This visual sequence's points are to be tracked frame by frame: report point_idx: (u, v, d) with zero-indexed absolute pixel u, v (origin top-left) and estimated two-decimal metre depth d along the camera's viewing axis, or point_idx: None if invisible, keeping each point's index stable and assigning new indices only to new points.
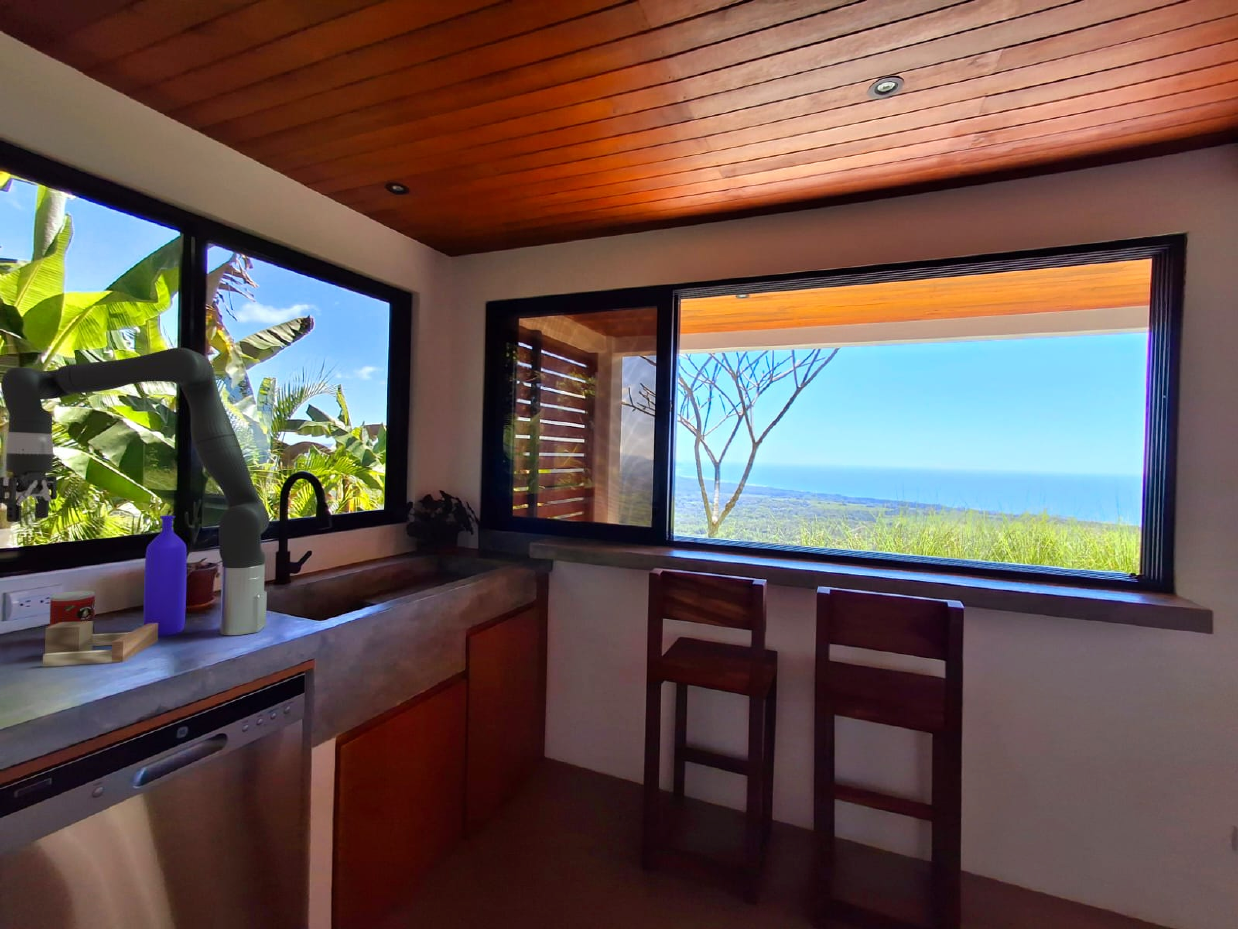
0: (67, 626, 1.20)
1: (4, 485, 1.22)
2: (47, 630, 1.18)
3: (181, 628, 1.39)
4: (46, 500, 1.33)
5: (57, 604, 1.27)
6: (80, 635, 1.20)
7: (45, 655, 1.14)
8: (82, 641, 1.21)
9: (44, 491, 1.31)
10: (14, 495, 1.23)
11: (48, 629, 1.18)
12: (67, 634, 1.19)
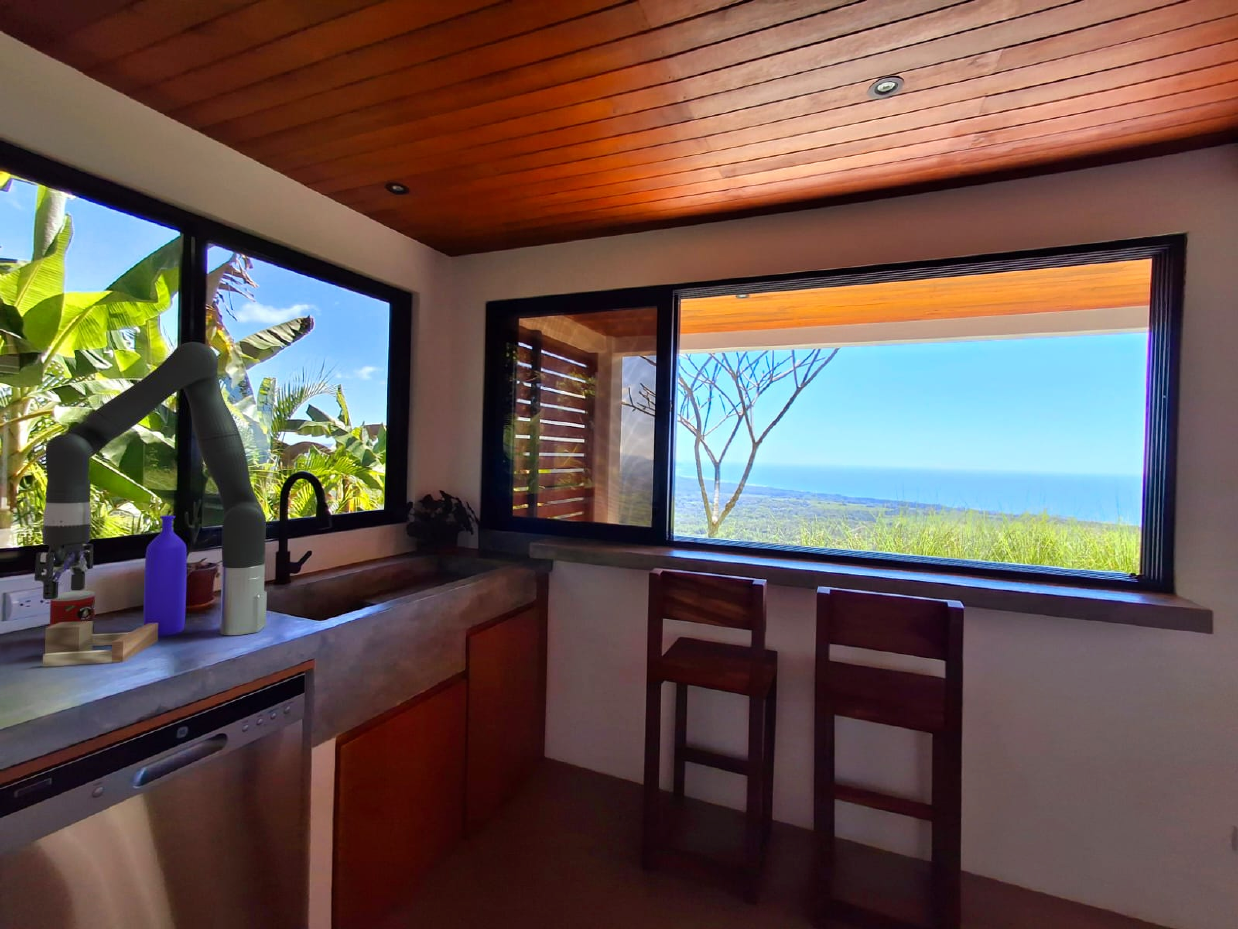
0: (67, 626, 1.20)
1: (41, 561, 1.14)
2: (47, 630, 1.18)
3: (181, 628, 1.39)
4: (82, 571, 1.25)
5: (57, 604, 1.27)
6: (80, 635, 1.20)
7: (45, 655, 1.14)
8: (82, 641, 1.21)
9: (81, 562, 1.23)
10: (51, 572, 1.15)
11: (48, 629, 1.18)
12: (67, 634, 1.19)
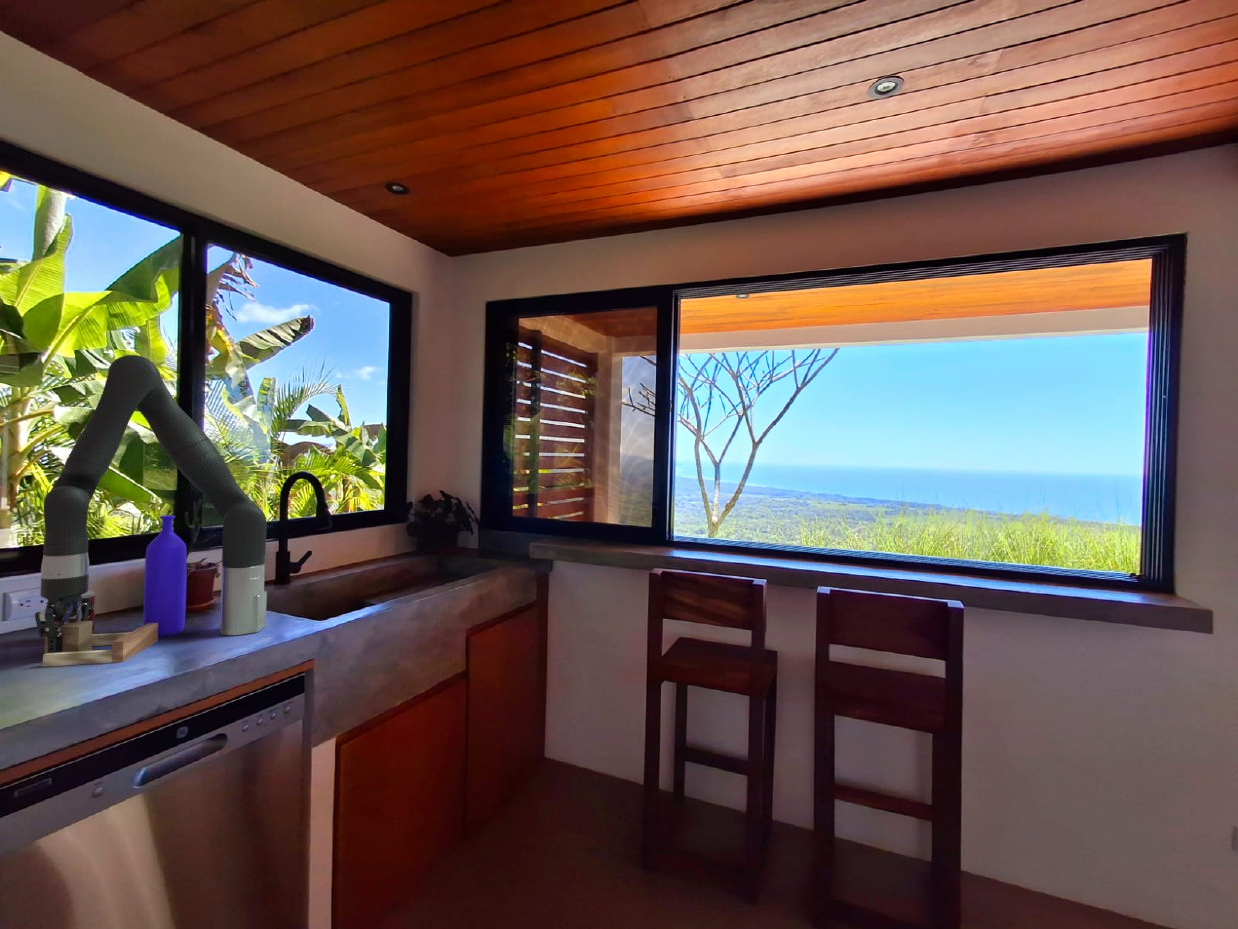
0: (67, 626, 1.20)
1: (41, 621, 1.15)
2: None
3: (181, 628, 1.39)
4: None
5: None
6: (80, 635, 1.20)
7: (45, 655, 1.14)
8: (81, 641, 1.21)
9: (77, 615, 1.22)
10: (54, 628, 1.16)
11: None
12: (67, 634, 1.19)
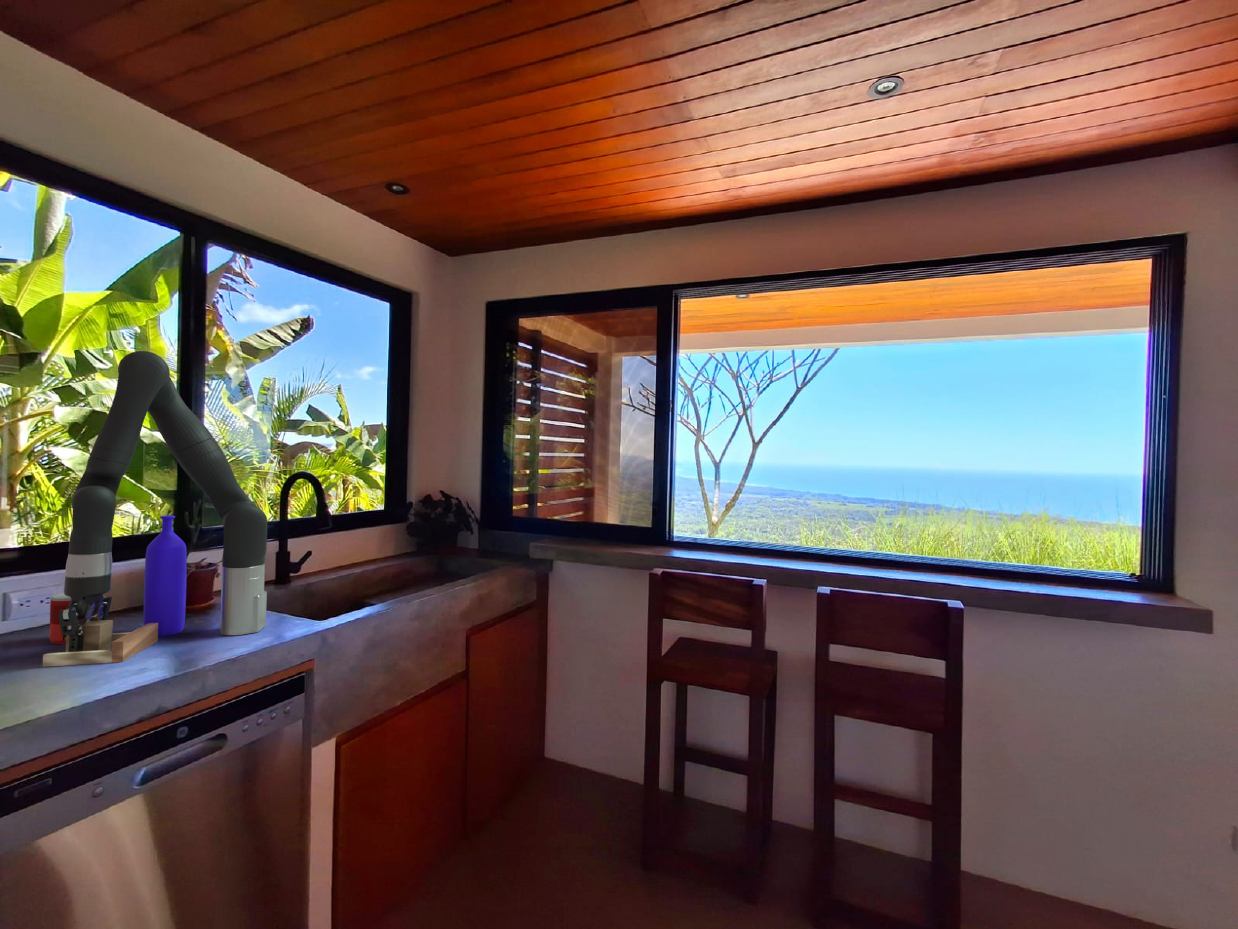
0: (88, 624, 1.20)
1: (64, 619, 1.16)
2: None
3: (181, 628, 1.39)
4: None
5: (57, 604, 1.27)
6: (101, 634, 1.21)
7: (45, 655, 1.14)
8: (102, 640, 1.21)
9: (98, 613, 1.23)
10: (76, 626, 1.17)
11: None
12: (88, 632, 1.20)
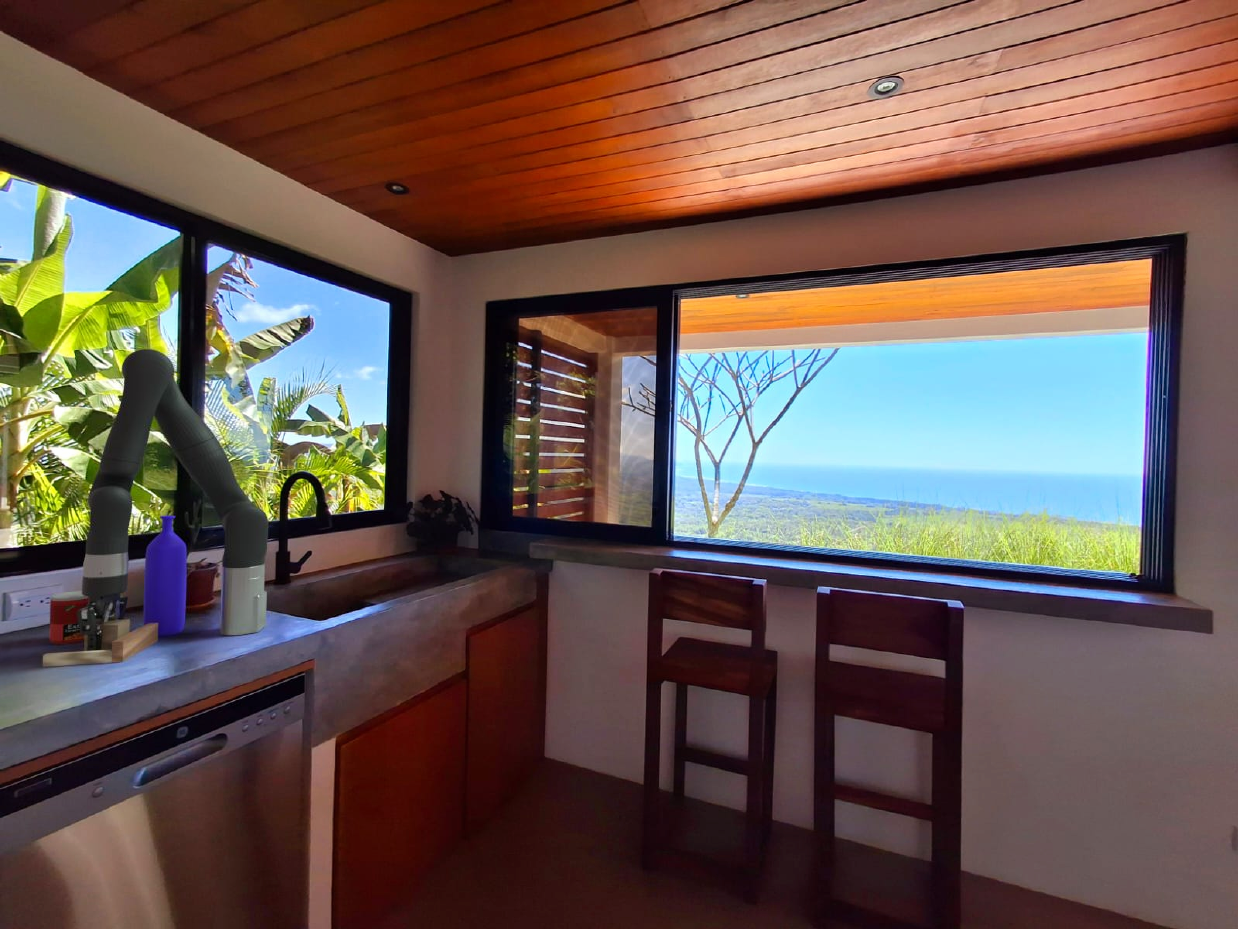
0: (106, 624, 1.21)
1: (83, 619, 1.16)
2: None
3: (181, 628, 1.39)
4: None
5: (57, 604, 1.27)
6: (119, 633, 1.22)
7: (45, 655, 1.14)
8: None
9: (115, 613, 1.24)
10: (95, 626, 1.18)
11: None
12: (106, 632, 1.21)
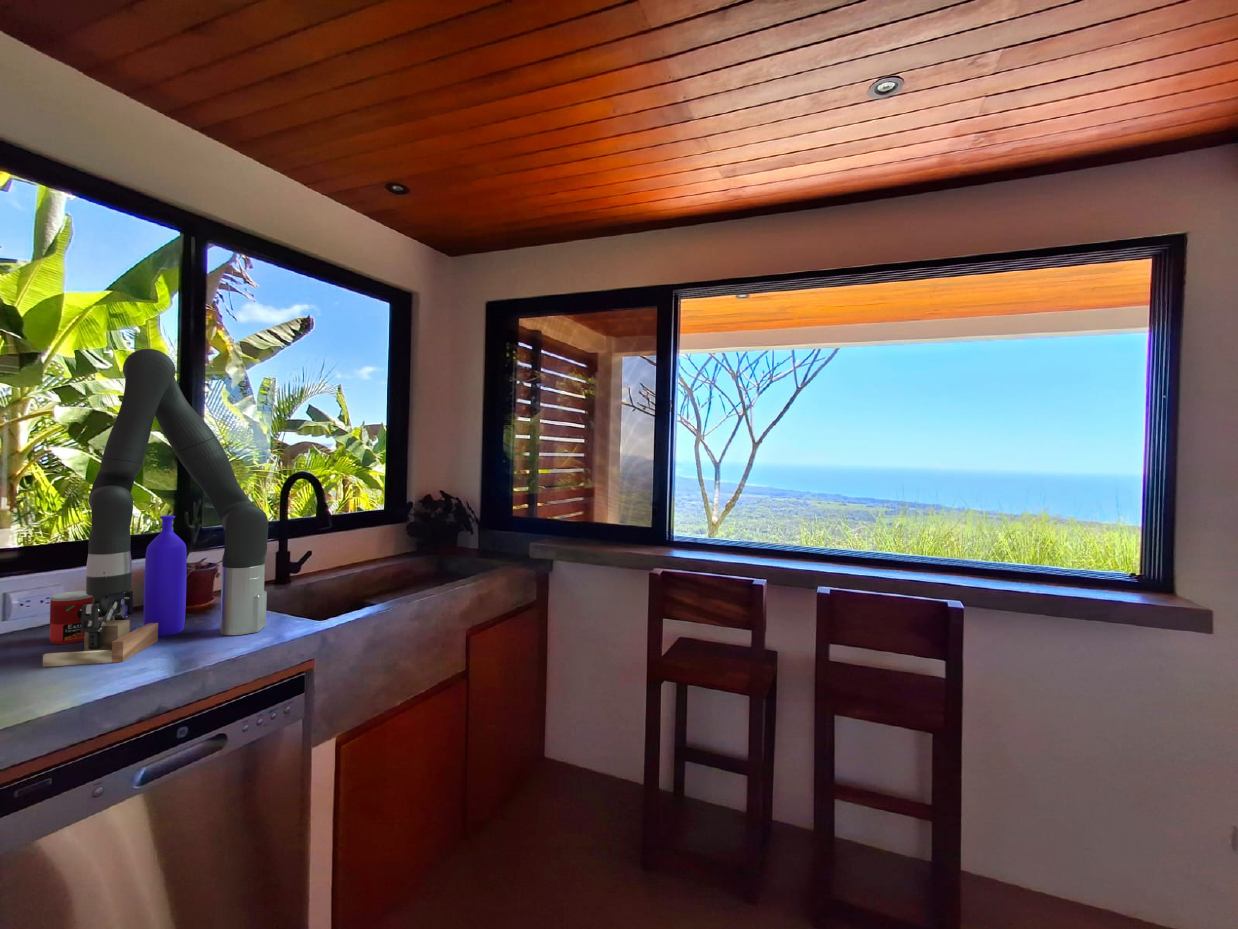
0: (106, 625, 1.21)
1: (87, 613, 1.16)
2: None
3: (181, 628, 1.39)
4: (124, 618, 1.27)
5: (57, 604, 1.27)
6: (119, 634, 1.22)
7: (45, 655, 1.14)
8: None
9: (122, 610, 1.26)
10: (97, 623, 1.17)
11: None
12: (106, 633, 1.21)
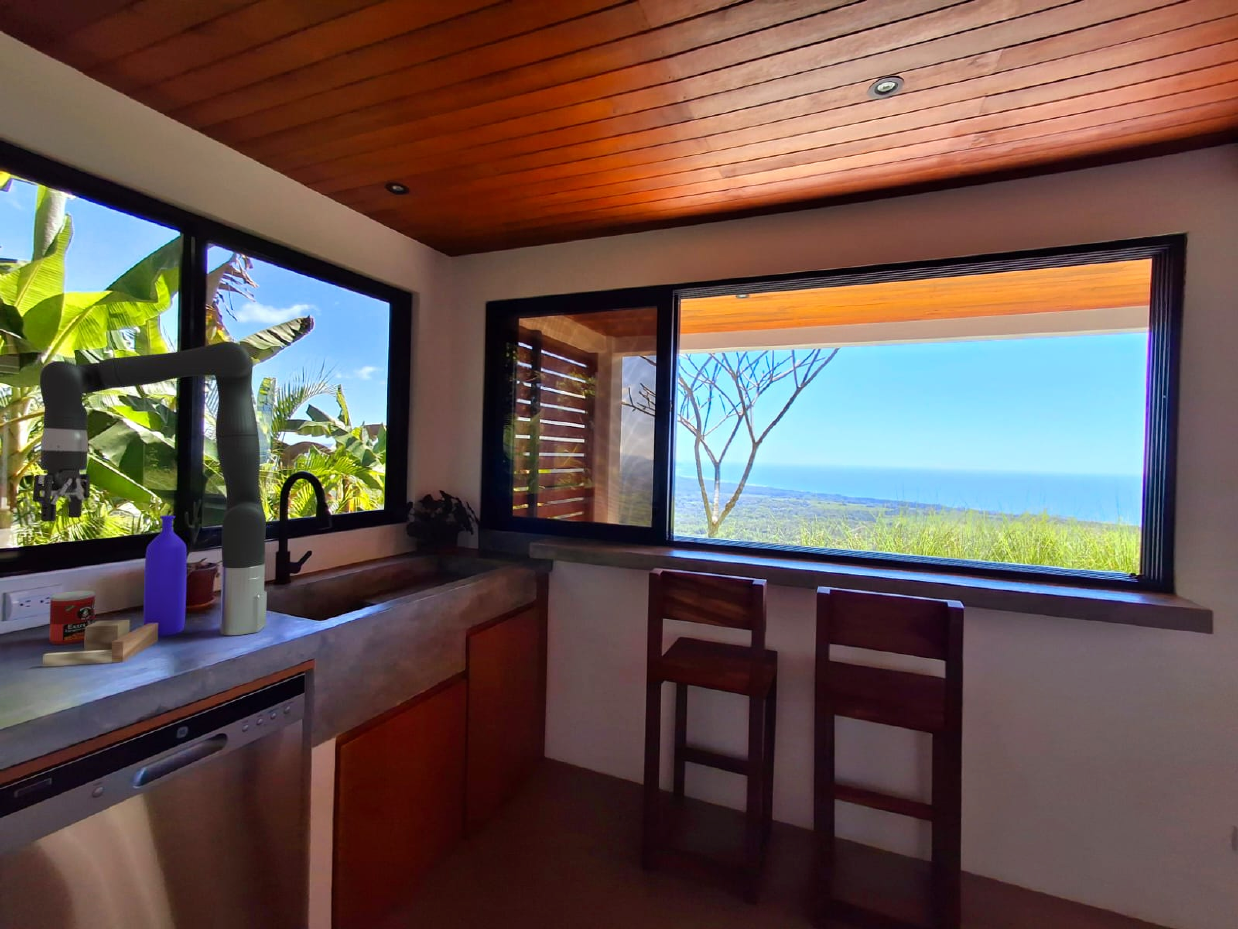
0: (106, 625, 1.21)
1: (39, 483, 1.17)
2: (86, 629, 1.20)
3: (181, 628, 1.39)
4: (79, 499, 1.28)
5: (57, 604, 1.27)
6: (119, 634, 1.22)
7: (45, 655, 1.14)
8: None
9: (78, 490, 1.26)
10: (49, 494, 1.18)
11: (87, 628, 1.20)
12: (106, 633, 1.21)
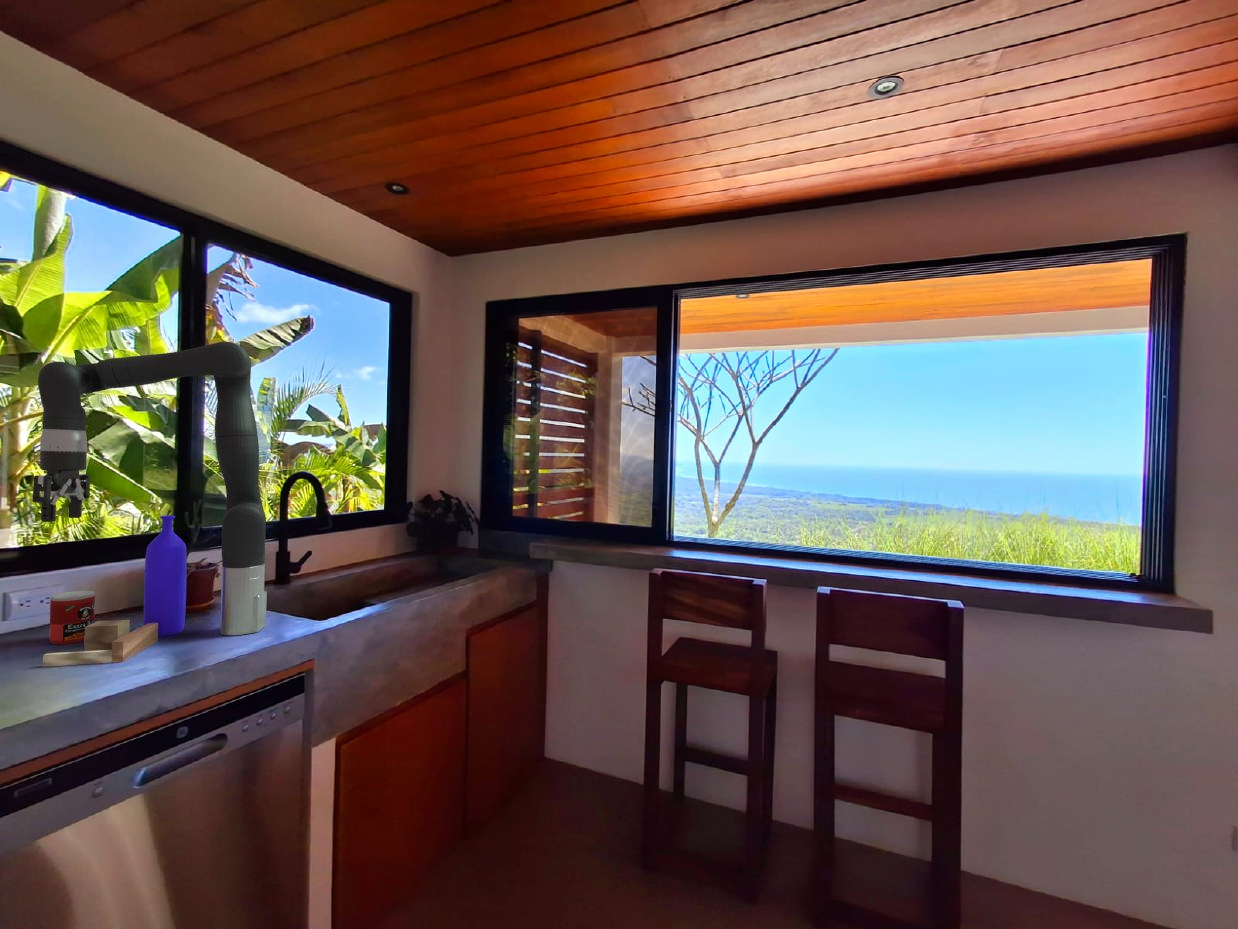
0: (106, 625, 1.21)
1: (39, 484, 1.17)
2: (86, 629, 1.20)
3: (181, 628, 1.39)
4: (79, 499, 1.28)
5: (57, 604, 1.27)
6: (119, 634, 1.22)
7: (45, 655, 1.14)
8: None
9: (78, 490, 1.27)
10: (49, 494, 1.18)
11: (87, 628, 1.20)
12: (106, 633, 1.21)
